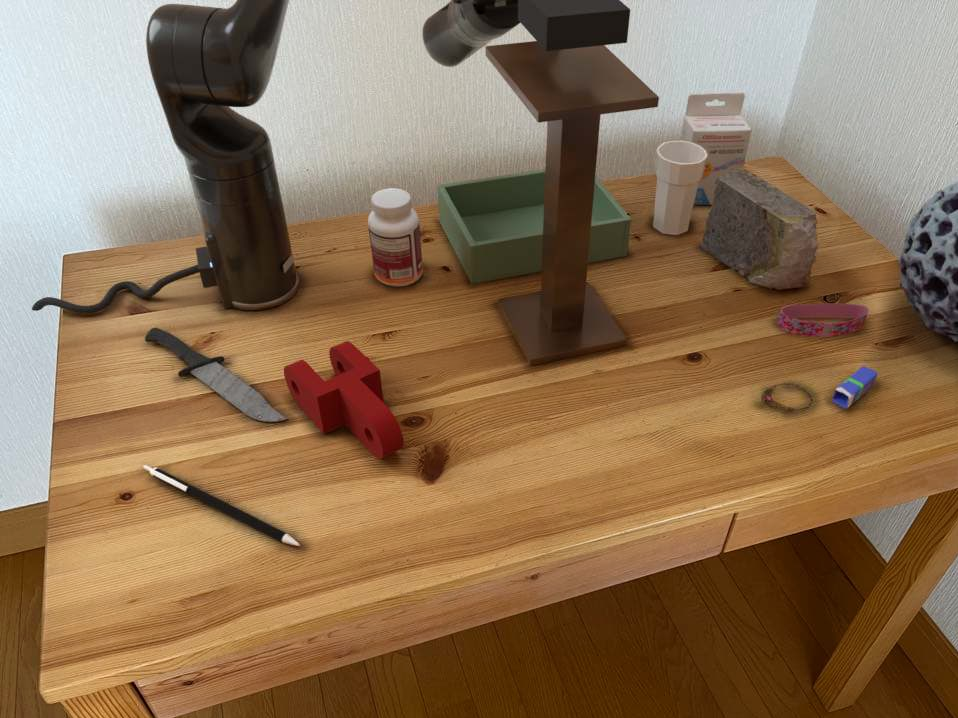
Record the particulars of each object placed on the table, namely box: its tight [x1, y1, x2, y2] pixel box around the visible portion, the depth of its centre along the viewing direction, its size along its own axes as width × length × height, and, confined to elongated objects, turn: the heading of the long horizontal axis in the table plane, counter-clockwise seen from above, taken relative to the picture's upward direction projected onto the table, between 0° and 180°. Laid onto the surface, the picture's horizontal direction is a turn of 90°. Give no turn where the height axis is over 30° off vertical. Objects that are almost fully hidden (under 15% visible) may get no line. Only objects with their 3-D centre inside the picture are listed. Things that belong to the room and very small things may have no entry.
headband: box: [776, 303, 870, 338], centre depth 104 cm, size 11×4×2 cm, turn 94°
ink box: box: [679, 92, 752, 206], centre depth 121 cm, size 8×5×15 cm, turn 98°
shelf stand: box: [485, 40, 660, 367], centre depth 94 cm, size 12×16×30 cm
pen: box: [142, 464, 301, 547], centre depth 81 cm, size 1×19×1 cm
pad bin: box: [437, 168, 632, 285], centre depth 115 cm, size 22×16×6 cm
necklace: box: [760, 383, 813, 413], centre depth 94 cm, size 4×6×1 cm, turn 110°
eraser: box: [832, 365, 878, 410], centre depth 95 cm, size 2×6×2 cm
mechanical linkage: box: [283, 340, 405, 460], centre depth 88 cm, size 16×7×5 cm, turn 39°
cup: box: [652, 140, 708, 236], centre depth 117 cm, size 7×7×11 cm
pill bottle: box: [367, 187, 424, 287], centre depth 106 cm, size 6×6×11 cm
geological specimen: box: [700, 168, 819, 291], centre depth 110 cm, size 11×6×15 cm
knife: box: [144, 327, 288, 423], centre depth 94 cm, size 22×1×5 cm
